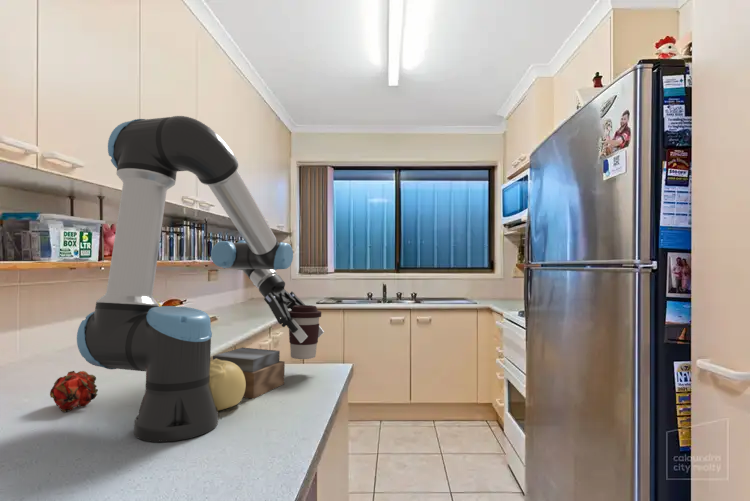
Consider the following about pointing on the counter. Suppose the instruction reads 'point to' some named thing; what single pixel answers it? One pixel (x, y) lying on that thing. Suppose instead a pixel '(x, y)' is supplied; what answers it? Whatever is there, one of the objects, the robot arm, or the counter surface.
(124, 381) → the counter surface
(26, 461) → the counter surface
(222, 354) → the gray topped wooden block
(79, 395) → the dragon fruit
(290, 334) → the coffee cup
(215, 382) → the pale yellow round lump
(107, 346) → the robot arm
